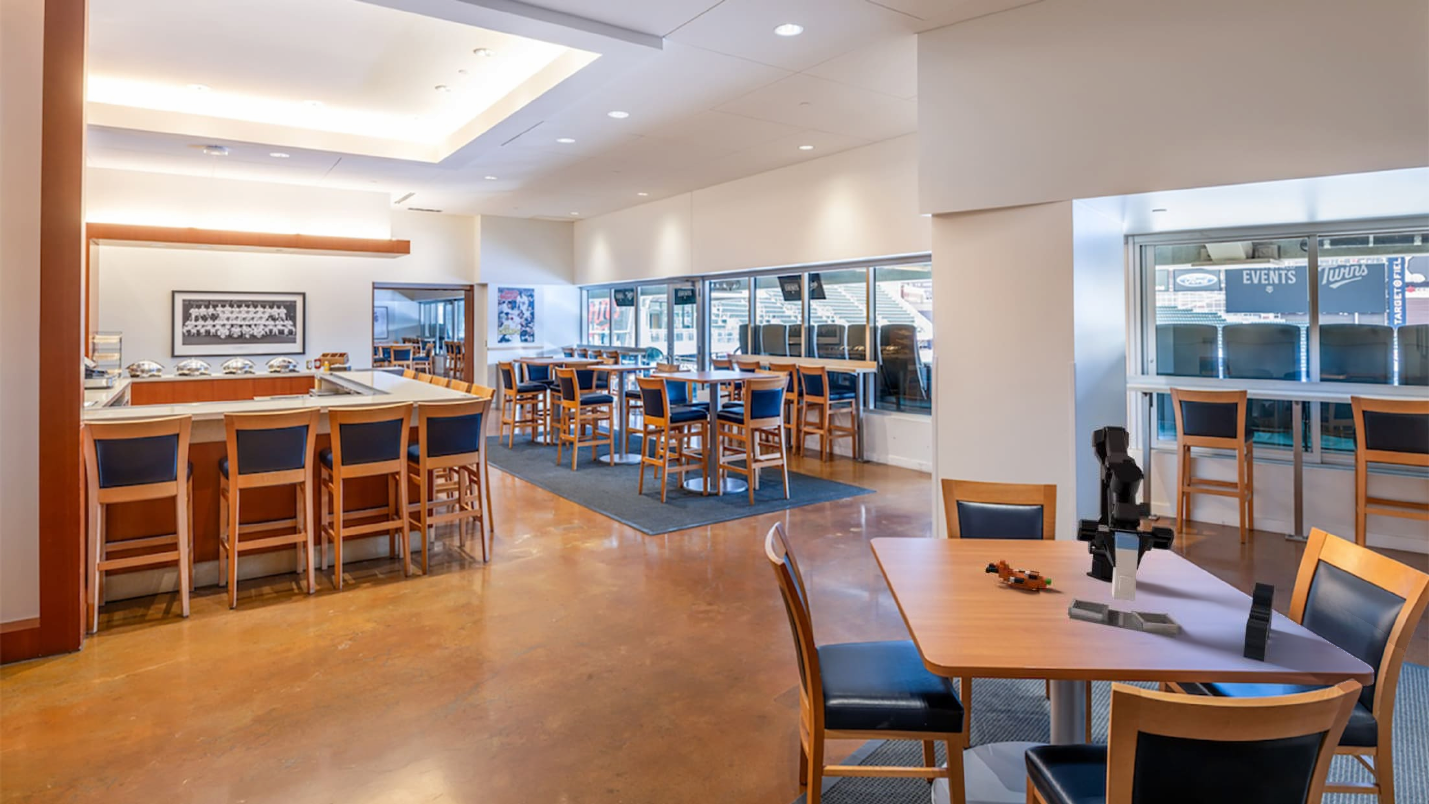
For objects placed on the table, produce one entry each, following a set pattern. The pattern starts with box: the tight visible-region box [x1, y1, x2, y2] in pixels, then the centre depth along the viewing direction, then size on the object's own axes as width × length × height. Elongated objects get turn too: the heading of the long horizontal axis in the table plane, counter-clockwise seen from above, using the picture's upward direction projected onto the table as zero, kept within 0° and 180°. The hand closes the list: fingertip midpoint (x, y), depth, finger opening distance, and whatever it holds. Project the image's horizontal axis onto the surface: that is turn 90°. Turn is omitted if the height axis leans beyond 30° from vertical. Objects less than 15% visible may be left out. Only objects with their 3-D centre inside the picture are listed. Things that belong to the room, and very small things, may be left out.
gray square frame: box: [1130, 610, 1182, 635], centre depth 159 cm, size 7×7×2 cm
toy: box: [985, 558, 1052, 591], centre depth 185 cm, size 8×6×15 cm
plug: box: [1111, 532, 1139, 602], centre depth 160 cm, size 5×4×14 cm
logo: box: [1243, 582, 1275, 663], centre depth 151 cm, size 24×3×10 cm, turn 140°
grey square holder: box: [1067, 598, 1110, 622], centre depth 166 cm, size 7×7×2 cm
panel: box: [1069, 607, 1176, 639], centre depth 162 cm, size 20×11×1 cm, turn 60°
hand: (1125, 567), depth 160 cm, fingers closed on plug, 4 cm apart
